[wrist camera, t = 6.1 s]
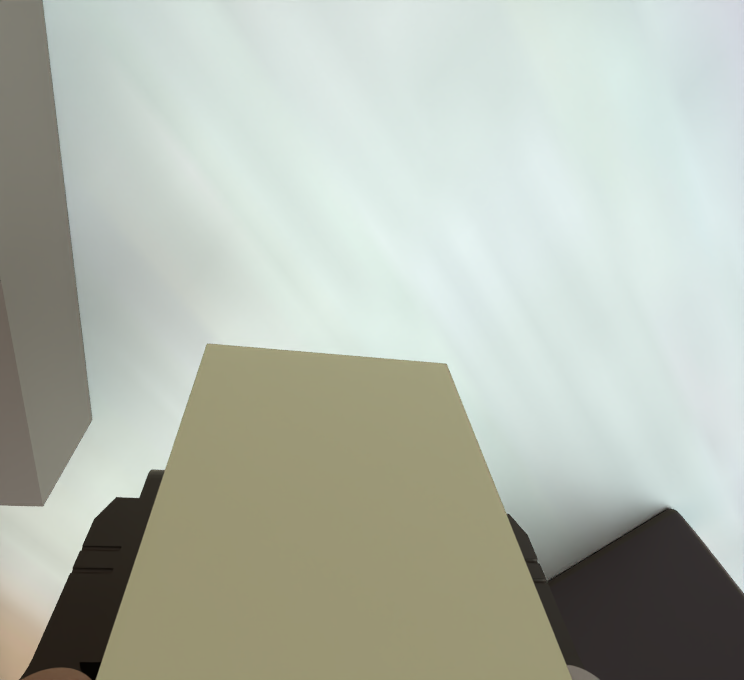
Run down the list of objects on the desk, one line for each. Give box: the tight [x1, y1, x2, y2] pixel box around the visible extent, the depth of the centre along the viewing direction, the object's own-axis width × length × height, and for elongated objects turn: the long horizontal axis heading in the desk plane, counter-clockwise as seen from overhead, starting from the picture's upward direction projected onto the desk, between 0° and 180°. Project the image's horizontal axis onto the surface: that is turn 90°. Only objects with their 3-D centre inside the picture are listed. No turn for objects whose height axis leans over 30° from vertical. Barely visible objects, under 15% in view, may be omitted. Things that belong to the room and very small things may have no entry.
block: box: [96, 344, 572, 680], centre depth 9 cm, size 5×5×8 cm
